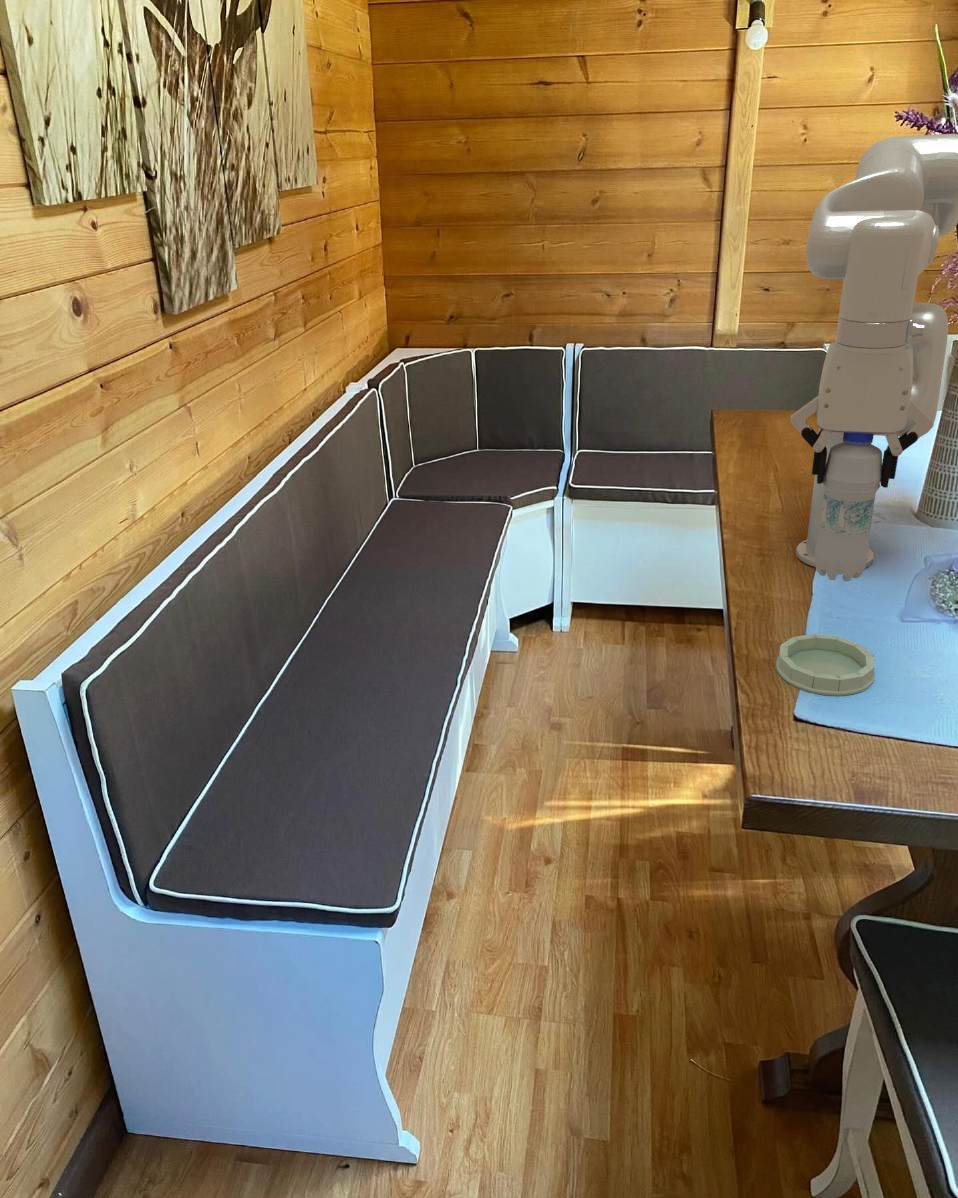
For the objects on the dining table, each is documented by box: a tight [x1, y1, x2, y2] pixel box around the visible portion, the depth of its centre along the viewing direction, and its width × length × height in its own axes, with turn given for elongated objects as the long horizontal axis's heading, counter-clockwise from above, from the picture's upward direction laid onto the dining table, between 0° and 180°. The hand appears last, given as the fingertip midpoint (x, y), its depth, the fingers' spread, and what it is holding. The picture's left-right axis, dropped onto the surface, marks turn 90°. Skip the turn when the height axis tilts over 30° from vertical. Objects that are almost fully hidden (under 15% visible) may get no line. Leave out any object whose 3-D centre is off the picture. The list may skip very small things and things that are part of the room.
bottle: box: [815, 433, 883, 582], centre depth 112 cm, size 7×7×20 cm
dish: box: [775, 633, 876, 697], centre depth 122 cm, size 13×13×2 cm
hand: (851, 480), depth 111 cm, fingers closed on bottle, 6 cm apart
